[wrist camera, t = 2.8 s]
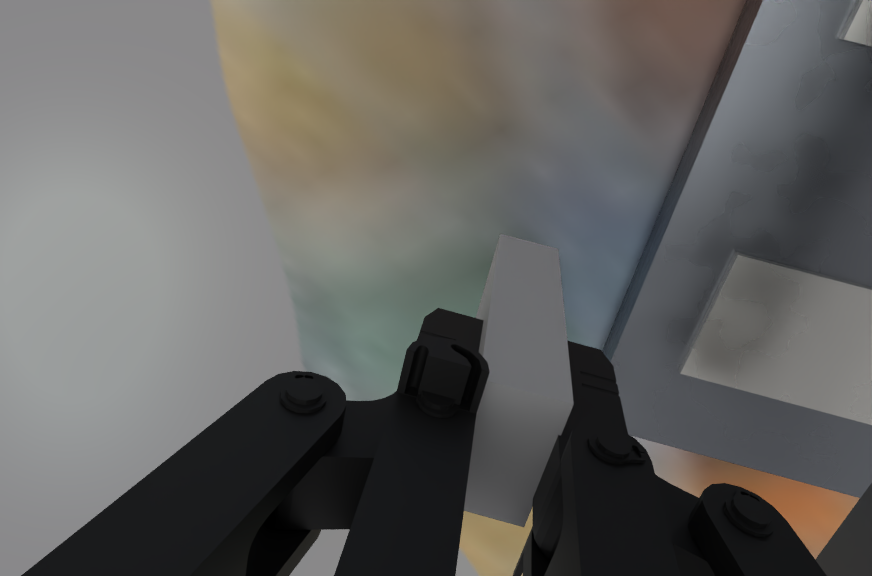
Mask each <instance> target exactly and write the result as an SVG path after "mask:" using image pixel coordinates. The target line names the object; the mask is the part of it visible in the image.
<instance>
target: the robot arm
mask: <svg viewBox="0 0 872 576" xmlns="http://www.w3.org/2000/svg"><path fill="white" fill-rule="evenodd" d="M532 506H533V527H532V529H531V532H530V534H529V536H528V539H527V541H526V544H525V546H524V549H523V551H522V553H521V556H520V558H519V561H518V563H517V566H516V568H515V570H514V573H513V576H521V574H522V573H523V576H827V575H826V574H825V572H824V571H823V570H822V568H821V567H820V566H819V564H818V563H817V561H816V560H815V559H814V557H813V556H812V555H811V553H810V552H809V551H808V549H807V548H806V547H805V545H804V544H803V542H802V541H801V540H800V538H799V537H798V536H797V534H796V533H795V532H794V530H793V529H792V527H791V526H790V525H789V523H788V522H787V521H786V520H785V518H784V517H783V516H782V515H781V514H780V513H779V512H778V511H777V510H776V509H775V508H774V507H773V506H772V505H770V504H769V503H768V502H766V501H765V500H763V499H762V498H761V497H760V496H758V495H756V494H754V493H753V492H750V491H748V490H746V489H744V488H742V487H738V486H734V485H730V484H726V483H722V484H712V485H710V486H709V487H707V488H706V489H705V490H704V491H703V493H702V494H701V496H700V498H698V497H696V496H694V495H692V494H690V493H688V492H686V491H684V490H682V489H680V488H678V487H676V486H674V485H672V484H670V483H668V482H666V481H665V480H663V479H661V478H660V477H658V476H657V475H655V473H654V469H653V465H652V461H651V459H650V457H649V455H648V453H647V451H646V449H645V448H644V447H643V446H642V445H641V444H640V443H639V442H638V441H637V440H636V439H635V438H633V437H632V436H630V435H628V431H627V427H626V422H625V418H624V413H623V408H622V404H621V399H620V396H619V390H618V385H617V384H616V376H615V372H614V367H613V365H612V363H611V362H610V361H609V360H608V358H607V357H606V356H605V355H604V353H603V352H602V351H601V350H599V349H596V348H592V347H588V346H584V345H581V344H577V343H573V342H570V341H567V332H566V322H565V312H564V302H563V292H562V282H561V272H560V262H559V251H558V249H557V248H553V247H549V246H545V245H541V244H538V243H534V242H530V241H526V240H522V239H519V238H515V237H511V236H507V235H503V234H500V236H499V239H498V243H497V246H496V250H495V253H494V257H493V260H492V264H491V267H490V270H489V274H488V277H487V281H486V284H485V288H484V291H483V294H482V298H481V301H480V305H479V308H478V312H477V315H476V318H473V317H470V316H466V315H462V314H458V313H455V312H451V311H447V310H443V309H440V308H438V309H436V310H435V311H433V312H432V313H430V314H429V315H427V316H426V317H425V318H424V321H423V324H422V327H421V330H420V333H419V336H418V339H417V341H415V342H413V343H412V344H411V345H410V346H409V348H408V349H407V351H406V355H405V359H404V364H403V368H402V372H401V376H400V380H399V385H398V389H397V391H396V392H395V393H394V394H392V395H390V396H388V397H386V398H383V399H379V400H374V401H346V395H345V393H344V391H343V390H342V389H341V387H340V386H339V385H338V384H337V383H335V382H334V381H332V380H331V379H329V378H327V377H326V376H322V375H319V374H316V373H312V372H302V371H301V372H300V371H292V372H287V373H282V374H278V375H276V376H274V377H272V378H270V379H268V380H267V381H265V382H264V383H263V384H261V385H260V386H259V387H258V388H256V389H255V390H254V391H253V392H251V393H250V394H249V395H248V396H246V397H245V398H244V399H243V400H241V401H240V402H239V403H237V404H236V405H235V406H234V407H233V408H231V409H230V410H229V411H227V412H226V413H225V414H224V415H223V416H221V417H220V418H219V419H217V420H216V421H215V422H214V423H212V424H211V425H210V426H209V427H207V428H206V429H205V430H204V431H202V432H201V433H200V434H199V435H197V436H196V437H195V438H194V439H192V440H191V441H190V442H189V443H187V444H186V445H185V446H183V447H182V448H181V449H180V450H178V451H177V452H176V453H175V454H174V455H172V456H171V457H170V458H169V459H167V460H166V461H165V462H163V463H162V464H161V465H160V466H158V467H157V468H156V469H155V470H153V471H152V472H151V473H150V474H148V475H147V476H146V477H145V478H143V479H142V480H141V481H140V482H138V483H137V484H136V485H135V486H133V487H132V488H131V489H130V490H128V491H127V492H126V493H124V494H123V495H122V496H121V497H119V498H118V499H117V500H116V501H114V502H113V503H112V504H111V505H109V506H108V507H107V508H106V509H104V510H103V511H102V512H101V513H99V514H98V515H97V516H96V517H94V518H93V519H92V520H91V521H89V522H88V523H87V524H86V525H85V526H83V527H82V528H81V529H79V530H78V531H77V532H75V533H74V534H73V535H72V536H71V537H69V538H68V539H67V540H65V541H64V542H63V543H62V544H61V545H59V546H58V547H57V548H55V549H54V550H53V551H52V552H50V553H49V554H48V555H47V556H45V557H44V558H43V559H42V560H40V561H39V562H38V563H37V564H35V565H34V566H33V567H32V568H30V569H29V570H28V571H26V572H25V573H24V574H23V575H21V576H289V575H290V574H291V572H292V571H293V570H294V568H295V567H296V566H297V564H298V563H299V562H300V560H301V559H302V558H303V556H304V555H305V554H306V553H307V551H308V550H309V549H310V547H311V546H312V544H313V543H314V542H315V541H316V539H317V538H318V536H319V534H320V531H321V529H350V531H349V534H348V536H347V539H346V543H345V545H344V549H343V551H342V554H341V557H340V560H339V563H338V566H337V569H336V572H335V575H334V576H455V573H456V565H457V558H458V550H459V543H460V535H461V528H462V520H463V512H464V511H468V512H471V513H475V514H478V515H482V516H486V517H489V518H493V519H496V520H500V521H504V522H507V523H511V524H514V525H518V526H522V527H524V526H525V523H526V521H527V519H528V516H529V514H530V511H531V509H532Z"/></svg>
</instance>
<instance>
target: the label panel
mask: <svg viewBox="0 0 872 576" xmlns="http://www.w3.org/2000/svg"><path fill="white" fill-rule="evenodd" d="M603 353H604V355H605V356H606V357H607V358H608V360H609V361H610V362H611V363H612V365H613V367H614V372H615V376H616V384H617V385H618V390H619V396H620V399H621V404H622V408H623V413H624V418H625V422H626V427H627V431H628V435H631V436H635V437H639V438H642V439H646V440H650V441H653V442H657V443H661V444H664V445H668V446H672V447H675V448H679V449H683V450H686V451H690V452H694V453H697V454H701V455H705V456H708V457H712V458H716V459H719V460H723V461H727V462H730V463H734V464H738V465H741V466H745V467H749V468H752V469H756V470H760V471H763V472H767V473H771V474H774V475H778V476H782V477H785V478H789V479H793V480H796V481H800V482H804V483H807V484H811V485H815V486H818V487H822V488H826V489H829V490H833V491H837V492H840V493H844V494H848V495H851V496H855V497H859V498H861V497H862V495H863V494H864V493H865V491H866V490H867V489H868V487H869V486H870V484H871V483H872V0H747V2H746V4H745V6H744V9H743V11H742V14H741V16H740V19H739V21H738V23H737V26H736V28H735V31H734V33H733V36H732V38H731V40H730V43H729V45H728V48H727V50H726V53H725V55H724V57H723V60H722V62H721V65H720V67H719V70H718V72H717V74H716V77H715V79H714V82H713V84H712V87H711V89H710V92H709V94H708V96H707V99H706V101H705V104H704V106H703V109H702V111H701V113H700V116H699V118H698V121H697V123H696V126H695V128H694V130H693V133H692V135H691V138H690V140H689V143H688V145H687V147H686V150H685V152H684V155H683V157H682V160H681V162H680V165H679V167H678V169H677V172H676V174H675V177H674V179H673V182H672V184H671V186H670V189H669V191H668V194H667V196H666V199H665V201H664V203H663V206H662V208H661V211H660V213H659V216H658V218H657V220H656V223H655V225H654V228H653V230H652V233H651V235H650V237H649V240H648V242H647V245H646V247H645V250H644V252H643V255H642V257H641V259H640V262H639V264H638V267H637V269H636V272H635V274H634V276H633V279H632V281H631V284H630V286H629V289H628V291H627V293H626V296H625V298H624V301H623V303H622V306H621V308H620V310H619V313H618V315H617V318H616V320H615V323H614V325H613V328H612V330H611V332H610V335H609V337H608V340H607V342H606V345H605V347H604V349H603Z"/></svg>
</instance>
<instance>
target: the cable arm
mask: <svg viewBox="0 0 872 576" xmlns="http://www.w3.org/2000/svg"><path fill="white" fill-rule="evenodd" d="M816 561H817V563H818V564H819V566H820V567H821V568H822V570H823V571H824V572H825V574H826V575H827V576H872V483H871V484H870V486H869V487H868V489H867V490H866V491H865V493H864V494H863V495H862V497H861V498H860V499H859V501H858V502H857V504H856V505H855V506H854V508H853V509H852V510H851V512H850V513H849V514H848V516H847V517H846V519H845V520H844V521H843V523H842V524H841V525H840V527H839V528H838V529H837V531H836V532H835V534H834V535H833V536H832V538H831V539H830V540H829V542H828V543H827V545H826V546H825V547H824V549H823V550H822V551H821V553H820V554H819V555H818V557H817V558H816Z"/></svg>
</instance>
